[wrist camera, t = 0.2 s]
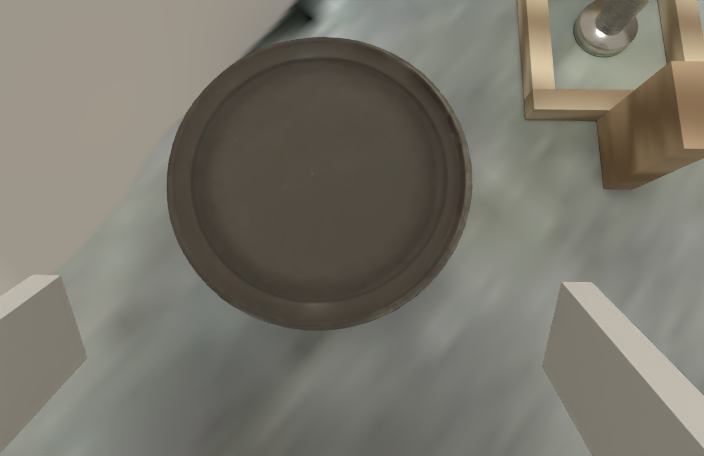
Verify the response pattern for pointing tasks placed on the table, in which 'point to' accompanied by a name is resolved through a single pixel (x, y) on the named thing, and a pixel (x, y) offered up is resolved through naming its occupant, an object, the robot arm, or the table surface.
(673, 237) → the table surface
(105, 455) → the table surface
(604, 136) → the tan wooden piece
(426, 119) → the coffee can
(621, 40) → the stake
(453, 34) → the table surface
